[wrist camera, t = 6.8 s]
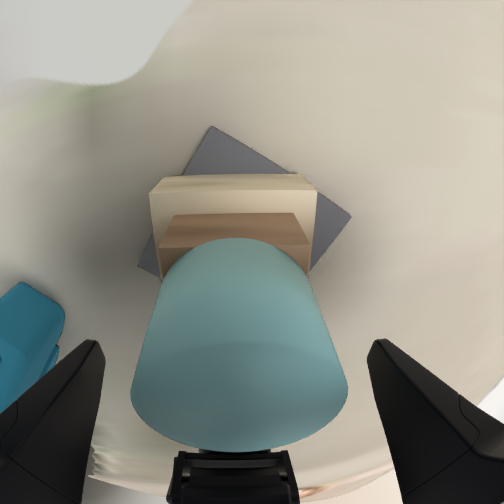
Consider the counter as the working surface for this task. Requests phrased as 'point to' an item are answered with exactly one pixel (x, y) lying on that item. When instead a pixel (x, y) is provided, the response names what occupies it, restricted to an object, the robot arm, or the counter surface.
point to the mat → (251, 162)
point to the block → (26, 340)
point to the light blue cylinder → (237, 352)
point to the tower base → (232, 199)
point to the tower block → (234, 234)
